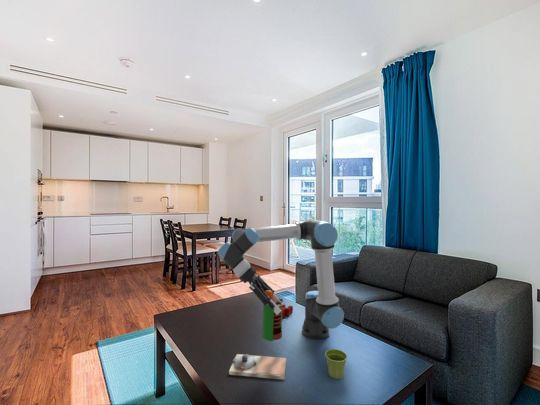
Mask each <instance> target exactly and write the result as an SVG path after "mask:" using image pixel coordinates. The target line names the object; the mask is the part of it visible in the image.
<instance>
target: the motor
mask: <svg viewBox="0 0 540 405" xmlns="http://www.w3.org/2000/svg"><path fill="white" fill-rule="evenodd" d="M265 293H266V294H267V296H268V297H270V298H269V299H270V300H272V301H273V302H274V297H273V292H272V291H271V290H266V291H265ZM278 298H279V299H280V301H281V302H282V303H284V302H283V300H284V299H283V298H281V297H278ZM274 303H275V302H274ZM282 303H280V302H276V303H275V304H276V305H277V306H278V307H279V308H280V309H281V312H280V313H279V314H278V315H276V314H275V313H274V308H273V309H271V307H270V306H269V305H267V304H266V305H264V304H263V303H262V327H261V329H262V331H261V332H262V334H261V337H262V339H264V340H265V341H269V342H273V341H277V340H280V339H282V337H283V330H282V329H283V328H282V327H283V326H282V325H283V319H282Z"/></svg>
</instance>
